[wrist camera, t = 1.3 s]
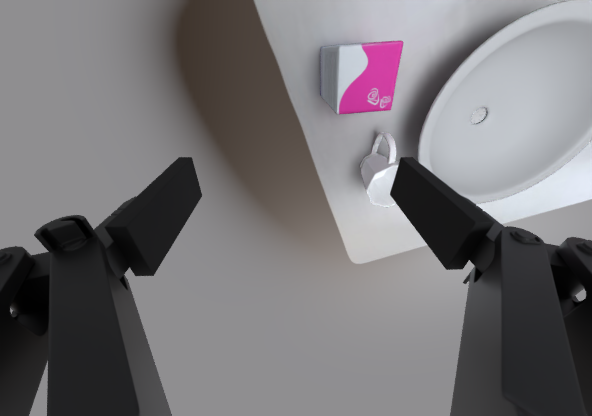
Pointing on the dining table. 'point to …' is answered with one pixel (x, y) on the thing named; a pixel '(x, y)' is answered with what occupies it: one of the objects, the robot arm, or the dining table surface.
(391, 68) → the supplement box
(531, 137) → the white sink basin
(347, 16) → the dining table surface
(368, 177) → the cup
